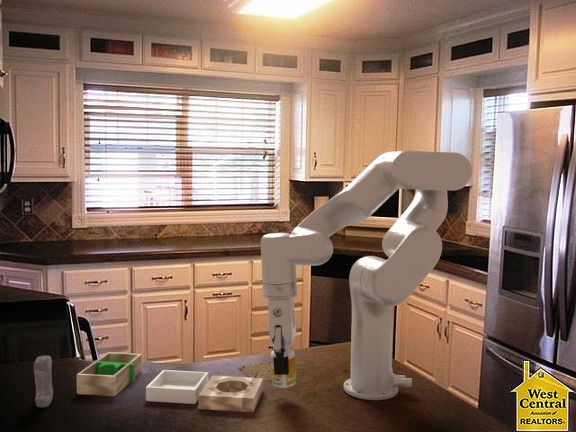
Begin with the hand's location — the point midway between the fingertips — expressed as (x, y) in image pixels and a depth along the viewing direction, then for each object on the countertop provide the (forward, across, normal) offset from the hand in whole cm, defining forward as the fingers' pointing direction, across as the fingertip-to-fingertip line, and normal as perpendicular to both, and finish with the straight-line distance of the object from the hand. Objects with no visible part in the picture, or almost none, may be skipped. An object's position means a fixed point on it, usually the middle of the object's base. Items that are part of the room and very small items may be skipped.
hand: (283, 368), depth 124 cm
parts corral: (+5, +4, +43) cm, 43 cm away
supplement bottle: (+4, 0, 0) cm, 4 cm away
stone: (+4, -10, +52) cm, 53 cm away
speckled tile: (+8, +17, +7) cm, 20 cm away
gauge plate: (+7, -2, +12) cm, 14 cm away
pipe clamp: (+5, +4, +43) cm, 43 cm away
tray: (+6, 0, +25) cm, 25 cm away
